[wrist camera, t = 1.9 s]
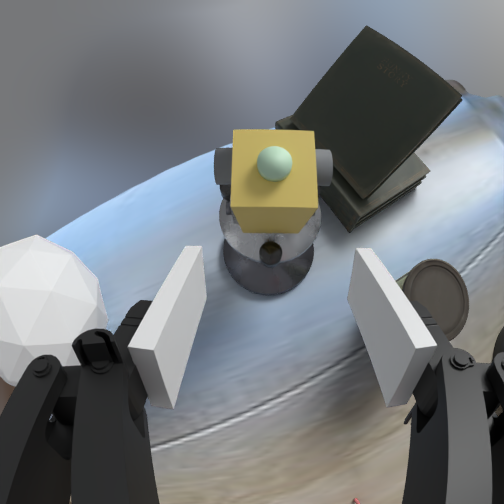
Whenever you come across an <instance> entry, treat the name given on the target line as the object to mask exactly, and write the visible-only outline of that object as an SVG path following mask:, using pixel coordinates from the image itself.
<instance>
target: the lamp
mask: <svg viewBox="0 0 504 504" xmlns="http://www.w3.org/2000/svg"><path fill="white" fill-rule="evenodd" d="M107 323H108V317H107V313H106V309H105V306H104V302H103V298H102V294H101V290H100V286H99V282H98V278H97V277H96V276H95V275H94V274H93V273H92V272H91V271H90V270H89V269H88V268H87V267H86V266H85V265H84V263H83V262H82V261H81V260H80V259H79V258H78V257H77V256H76V255H75V254H74V253H73V252H72V251H70V250H68V249H66V248H63V247H61V246H59V245H57V244H55V243H53V242H51V241H49V240H47V239H45V238H43V237H41V236H39V235H34V236H31V237H28V238H25V239H22V240H19V241H16V242H13V243H10V244H7V245H5V246H2V247H0V377H1V378H3V380H4V381H5V382H6V383H8V384H10V385H12V386H15V387H16V385H17V384H18V382H19V380H20V378H21V377H22V375H23V373H24V371H25V370H26V368H27V366H28V365H29V364H30V363H31V361H32V360H34V359H35V358H37V357H39V356H42V355H53V356H56V357H57V358H58V360H59V361H60V363H61V365H62V366H76V365H81V364H80V362H79V360H78V358H77V356H76V354H75V352H74V350H73V348H72V346H71V345H72V343H73V341H74V339H75V338H76V337H78V336H79V335H80V334H81V333H83V332H85V331H87V330H91V329H95V328H97V329H105V330H106V327H107Z"/></svg>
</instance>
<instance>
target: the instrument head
mask: <svg viewBox="0 0 504 504" xmlns="http://www.w3.org/2000/svg"><path fill="white" fill-rule="evenodd" d="M332 175H333V159H332V153H331V151H330V150H324V149H315V138H314V131H303V130H264V129H261V130H260V129H258V130H257V129H256V130H234V131H233V148H216V150H215V155H214V176H215V182H216V184H217V185H227V184H231V209H232V211H233V213H234V215H235V217H236V219H237V221H238V223H239V225H240V228H241V230H242V232H243V233H294V234H298V233H299V232H300V231H301V229H302V228H303V227H304V226H305V224H306V223H307V222H308V220H309V219H310V218H311V216H312V215H313V214H314V213H315V211H316V210H317V209H318V190H317V186H330V184H331V181H332Z"/></svg>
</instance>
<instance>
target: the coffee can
mask: <svg viewBox="0 0 504 504" xmlns="http://www.w3.org/2000/svg"><path fill="white" fill-rule="evenodd" d="M396 283H397V284H398V286H399V287H400V289H401V290H402V291H403V293H404V294H405V296H406V297H407V299H408V300H409V301H418V302H419V303H420V304H422V305H423V306H424V307H426V308H427V310H428V311H429V312H430V314H431V315H432V318H434V320H435V321H436V322H437V325H439V327H440V328H441V330H442V331H443V333H444V334H445V336H446V337H447V339H448V340H449V341H451V340H452V339H454V338H455V337H456V336H457V335H458V334H459V333H460V332H461V330H462V329H463V327H464V325H465V323H466V320H467V317H468V311H469V297H468V292H467V288H466V285H465V283H464V281H463V279H462V277H461V275H460V274H459V273H458V271H457V270H456V269H455V268H454V267H453V266H452V265H450V264H449V263H447V262H445V261H443V260H439V259H427V260H424V261H422V262H420V263H419V264H417V265H416V266H415V267H413V268H412V270H410V271H409V272H408V273H406V274H405V275H403V276H402V277H400V278H399V279H397V280H396Z"/></svg>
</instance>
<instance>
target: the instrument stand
mask: <svg viewBox="0 0 504 504" xmlns="http://www.w3.org/2000/svg"><path fill="white" fill-rule="evenodd" d="M317 190H318V197H319V194H320V191H321V186H317ZM220 191H221V195H222V197H223V200H222V203H221V206H220V211H219V220H220V226H221V229H222V232H223V235H224V237H225V242H224V260H225V263H226V266H227V269H228V271H229V273H230V274H231V276H232V277H233V279H234V280H235V281H236V282H237V283H238V284H239V285H240V286H242V287H243V288H245V289H247V290H249V291H251V292H254V293H256V294H261V295H276V294H281V293H284V292H287V291H289V290H291V289H293V288H294V287H296V286H297V285H298V284H299V283H300V282H301V281H302V280H303V279H304V278H305V276H306V275H307V273H308V271H309V269H310V267H311V265H312V261H313V256H314V247H313V242H314V240H315V239H316V236H317V234H318V232H319V229H320V225H321V210H320V206H319V202H318V209H317V210H316V211H315V213H314V214H313V215H312V216H311V218H310V219H309V220H308V222H307V223H306V224H305V226H304V227H303V228H302V229H301V231H300V232H299V233H298V234H294V233H243V232H242V230H241V228H240V225H239V223H238V221H237V219H236V217H235V215H234V213H233V211H232V209H231V184H227V185H220Z"/></svg>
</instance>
